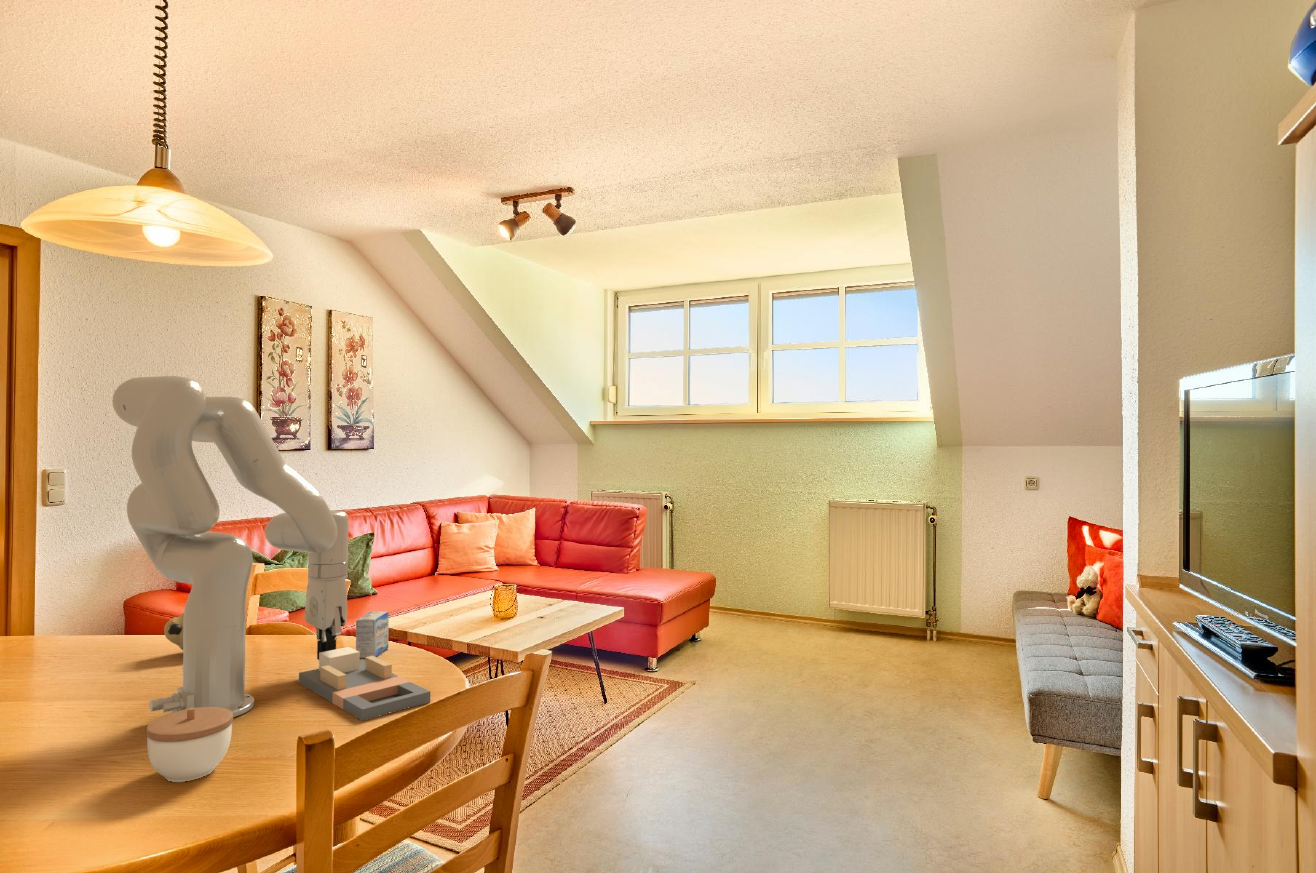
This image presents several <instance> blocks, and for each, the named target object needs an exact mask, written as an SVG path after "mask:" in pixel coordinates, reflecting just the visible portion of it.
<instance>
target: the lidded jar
mask: <svg viewBox="0 0 1316 873" xmlns="http://www.w3.org/2000/svg"><path fill="white" fill-rule="evenodd" d="M233 720H234V717H233V713H232V712H231V711H230V710H228V709H225V708H220V707H199V708H188V709H185V710H180V711H176V712H173V713H172V712H170V713H167V714H164V715H162V716H159V717H157V718H155V719H153V720H152V721H150V723H148V725H147V726H146V727H145V728H146V730H145V733H146V737H147V738H146V748H147V755H148V759H149V762H150V764H151V766H152V768H153V769H154V771H155V772H157V773H158V774H159V775H160V776H162V777H164V778H165V780H166V779H167V780H168V781H167V780H166V781H167V782H170V781H172V782H171V783H186V782H185V781H188V782H190V781H189V780H193V779H197V780H199V779H198V778H200V779H202V778H204V777H203V776H205V777H207V776H208V775H207V774H209V775H210V774H212V773H213V772H214V771H213V770H215V767H217V766H218V765H219V764H220V763H221V762H222V760H223V759H224V758H225V756H226V755H227V752H228V751H229V747H230V744H231V739H232V735H233V734H232V732H233V722H234V721H233ZM212 771H213V772H212ZM211 772H212V773H211ZM206 775H207V776H206ZM201 777H202V778H201ZM193 781H194V780H193Z"/></svg>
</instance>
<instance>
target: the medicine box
mask: <svg viewBox="0 0 1316 873" xmlns="http://www.w3.org/2000/svg"><path fill="white" fill-rule="evenodd" d="M389 616H390V615H389V611H370V612H368V613H367V614H365V615H363V616H362V617H360V618H358V619H356V621H355V650H357V651H359V652H360V659H366V657H369V656H374V657H377V658H379V656H380V655H381V654H383V653H384V652H385V651H386V650H388V649H389V627H390V626H389V624H390V623H389V622H390V621H389Z"/></svg>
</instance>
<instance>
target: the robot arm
mask: <svg viewBox="0 0 1316 873" xmlns="http://www.w3.org/2000/svg"><path fill="white" fill-rule="evenodd" d="M112 407H113V410H114V411H115V414H116V415H117V416H118V417H119V419H121V420H122V421H123V422H125V423H127V424H128V425H131V426H134V427H136V431H135V434H134V436H133V440H132V446H131V459H132V464H133V466H134V469H135V472H136V474H137V475H138V477H139V480H140V482H141V483H140V484H138V485H137V486H136V487H135V488H134V489H133V490H132V491H131V493H130V494H129V496H128V499H127V503H126V515H127V520H128V522H129V524H130V527H131V529H132V530H133V531H134V533H135V535H136V537H137V539H138V541H139V542H140V543H141V546H142V547H143V549H144V550H145V553H146V554H147V556H148V557H149V559H150V561H151V563H152V564H153V565H154V567H155V569H156V570H157V571H158V572H159V573H160V574H161V575H162V576H163V577H165V578H166V579H168V580H171V581H172V582H177V583H183V584H189V585H192V586H191V590H190V592H189V594H188V597H187V599H186V603H185V605H184V609H183V610H184V611H183V613H184V619H183V627H184V632H183V650H182V654H183V655H182V686H181V687H177V688H176V693H171V695H170V696H168V697H164V698H163V697H160V698H155V699H150V700H149V711H150V712H151V713H152V712H157V711H161V710H162V713H166V712H167V713H168V712H171V713H173V712H176V711H180V710H185V709H188V708H199V707H220V708H225V709H228V710H230V711H231V712H232V713H233V718H235V717H238V716H241V715H244V714H245V713H247V712H248V711H250V710H252V708H253V707H254V705H255V698H254V696H252V695H251V694H249V693H245V692H246V691H245V689H246V688H245V686H246V684H245V682H246V629H247V628H246V627H247V626H246V623H247V622H246V621H247V620H246V619H247V618H246V617H247V616H246V615H247V614H246V613H247V595H248V588H249V582H250V578H251V574H252V569H253V562H254V561H253V560H254V559H253V558H254V557H253V552H252V550H251V547H250V546H249V545H248V543H247V542H246V541H245V540H244V539H242V538H240V537H239V536H236V535H234V534H231V533H226V532H220V531H219V532H217V531H210V530H211V529H212V528H214V526H215V525H216V524H217V522H218V521H219V518H220V506H219V502H218V500H217V497H216V496H215V494H214V491H213V489H212V488H211V486H210V484H209V482H208V480H207V477H206V476H205V475H204V472H203V471H202V468H201V467H200V465H199V463H198V460H197V458H196V456H195V453H194V449H193V445H192V444H193V442H198V443H214V444H215V445H216V447H217V449H218V451H219V452H220V453H221V455H222V456H223V458H224V460H225V462H226V463H227V465H228V466H229V468H230V470H231V472H232V473H233V475H234V477H235V479H236V480H237V482H238V483H239V485H240V486H242V487H243V488H244V489H246V490H248V491H249V492H251V493H252V494H254V495H256V496H259V497H260V498H262V499H265V500H267V501H269V503H273V504H274V505H275V506H277V507H278V508H279V509H281V510H282V511H283V513H279V514H277V515H275V516H274V517H272V518H271V519H270V520H269V521H268V523H267V524H266V527H265V529H264V535H265V539H266V541H267V542H268V544H270V546H272V547H274V548H275V549H278V550H282V551H289V552H299V553H308V554H307V556H308V558H307V560H308V562H307V579H308V581H307V586H306V593H305V594H306V595H305V596H306V597H305V608H304V621H305V622H306V624H308V625H310V626H313V627H314V628H315V630H316V631H315V632H316V643H317V644H316V645H317V646H316V648H317V649H316V659H317V660H318V661H319V653H320V652H325V651H330V650H335V649H337V640H338V636H339V635H341V634H342V627H344V626H346V624H347V622H348V620H347V619H348V596H347V595H348V593H347V580H346V578H348V577H349V576H348V572H349V571H348V570H349V569H348V568H349V567H348V566H349V523H350V522H349V516H348V514H347V512H345V511H343V510H337V509H336V510H335V509H330V508H329V506H328V505H327V503H326V500H325V499H324V497H323V496H322V495H321V493H320V492H319V491H318V490H317V489H316V488H315V487H314V486H313V485H312V484H311V483H310V482H309V481H308V480H307V479H305V478H304V477H303V476H302V475H300V473H299V472H297V470H295V469H294V468H292V467H291V466H290V465H288V463H287V462H286V461H285V459H284V457H282V454H281V453H280V451H279V449H278V447H277V445H276V444H275V442H274V440H273V438H272V437H271V435H270V433H269V431H268V429H267V428H266V426H265V424H264V422H263V419H261V417H260V415H259V413H258V412H257V410H256V408H255V407H254V406H253V405H252V403H250V402H249V401H248V400H246V399H244V398H241V397H238V396H237V397H236V396H206V394H205V391H204V389H203V388H202V386H201V385H200V384H199V383H198V382H196V381H195V380H194V379H191V378H189V377H185V376H177V375H166V376H165V375H164V376H163V375H161V376H159V375H158V376H141V377H140V376H139V377H133V378H130V379H127V380H125V381H123V382H122V383H121V384H120V385H118V386H117V387H116V389H115V390H114V393H113V394H112Z"/></svg>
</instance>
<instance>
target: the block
mask: <svg viewBox="0 0 1316 873" xmlns="http://www.w3.org/2000/svg"><path fill="white" fill-rule="evenodd" d="M360 660H361V658H360V652H359V651H357V650H356V649H355V648H352V647H350V646H346V647H342V648H341V647H340V648H336V649H335V650H330V651H325V652H320V653H319V660H318V662H319V663H318V669H319V670H320V667H322V666H326V665H329V666H331V667H333V668H335V669H336V670H338V671H340V672H342V673H345V672H349V671H354V670H358V669H359V667H360Z"/></svg>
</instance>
